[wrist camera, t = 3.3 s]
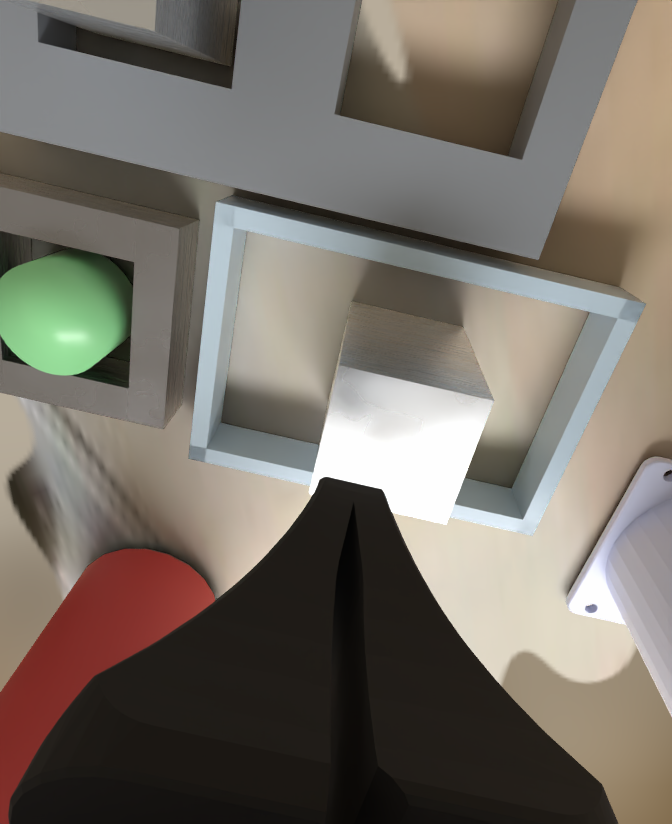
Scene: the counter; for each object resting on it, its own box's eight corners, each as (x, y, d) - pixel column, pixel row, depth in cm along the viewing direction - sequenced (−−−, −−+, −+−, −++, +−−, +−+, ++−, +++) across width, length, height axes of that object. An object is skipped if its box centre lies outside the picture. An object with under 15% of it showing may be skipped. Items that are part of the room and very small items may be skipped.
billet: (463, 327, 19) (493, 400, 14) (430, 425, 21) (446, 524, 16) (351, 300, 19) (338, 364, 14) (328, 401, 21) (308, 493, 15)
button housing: (199, 219, 18) (179, 228, 16) (181, 404, 21) (163, 429, 19) (-12, 169, 18) (-55, 173, 16) (3, 364, 21) (-33, 385, 19)
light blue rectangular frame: (620, 287, 18) (646, 303, 16) (520, 503, 22) (532, 535, 20) (232, 195, 18) (215, 201, 16) (204, 432, 22) (188, 458, 20)
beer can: (92, 634, 28) (-92, 948, 17) (77, 531, 25) (-158, 834, 14) (221, 651, 27) (117, 980, 17) (222, 550, 24) (96, 871, 14)
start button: (140, 262, 18) (108, 278, 16) (135, 359, 20) (105, 386, 18) (34, 237, 18) (-13, 250, 16) (37, 337, 20) (-4, 361, 18)
